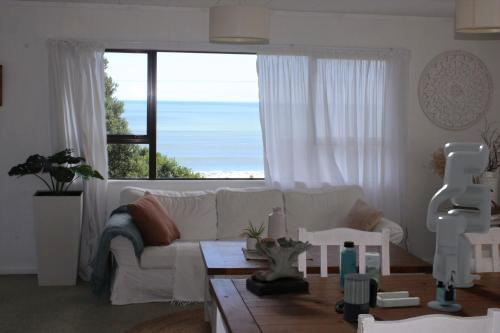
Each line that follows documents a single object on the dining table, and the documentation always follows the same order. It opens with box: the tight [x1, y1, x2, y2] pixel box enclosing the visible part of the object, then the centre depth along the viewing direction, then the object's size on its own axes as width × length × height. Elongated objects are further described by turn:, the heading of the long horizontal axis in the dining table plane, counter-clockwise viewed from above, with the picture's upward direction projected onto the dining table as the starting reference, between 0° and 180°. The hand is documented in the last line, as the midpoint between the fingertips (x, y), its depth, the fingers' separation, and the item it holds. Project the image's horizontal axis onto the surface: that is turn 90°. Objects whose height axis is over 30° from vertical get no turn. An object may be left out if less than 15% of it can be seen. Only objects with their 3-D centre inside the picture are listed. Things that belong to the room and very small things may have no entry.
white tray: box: [376, 291, 421, 308], centre depth 244 cm, size 16×10×2 cm, turn 104°
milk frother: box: [333, 272, 379, 323], centre depth 227 cm, size 14×16×15 cm
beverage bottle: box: [338, 240, 358, 290], centre depth 258 cm, size 6×7×20 cm
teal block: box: [435, 286, 457, 305], centre depth 239 cm, size 5×5×5 cm
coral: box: [245, 236, 314, 297], centre depth 257 cm, size 25×20×22 cm
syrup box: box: [363, 251, 381, 291], centre depth 263 cm, size 6×6×14 cm
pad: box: [427, 300, 462, 313], centre depth 239 cm, size 12×12×1 cm
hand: (444, 298), depth 239 cm, fingers open, 5 cm apart
